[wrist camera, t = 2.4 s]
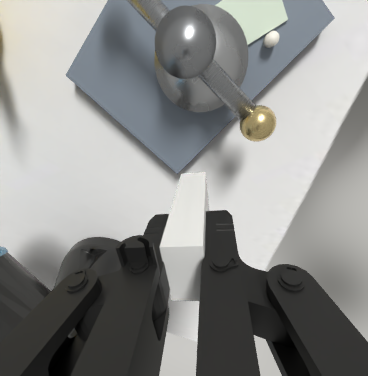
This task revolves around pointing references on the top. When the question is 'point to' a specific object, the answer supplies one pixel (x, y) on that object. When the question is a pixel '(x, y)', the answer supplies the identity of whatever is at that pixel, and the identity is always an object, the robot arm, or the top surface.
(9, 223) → the top surface
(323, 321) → the robot arm
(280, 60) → the stand
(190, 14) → the grey lever with knob
